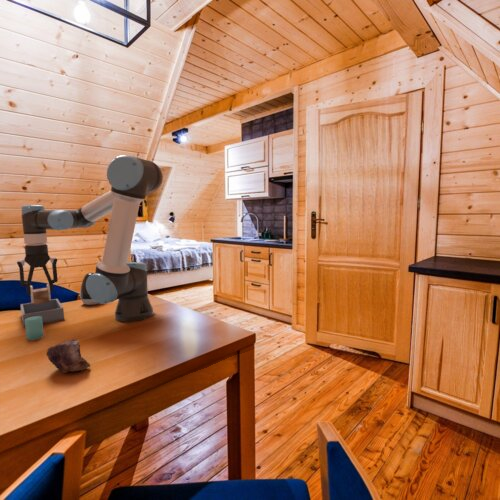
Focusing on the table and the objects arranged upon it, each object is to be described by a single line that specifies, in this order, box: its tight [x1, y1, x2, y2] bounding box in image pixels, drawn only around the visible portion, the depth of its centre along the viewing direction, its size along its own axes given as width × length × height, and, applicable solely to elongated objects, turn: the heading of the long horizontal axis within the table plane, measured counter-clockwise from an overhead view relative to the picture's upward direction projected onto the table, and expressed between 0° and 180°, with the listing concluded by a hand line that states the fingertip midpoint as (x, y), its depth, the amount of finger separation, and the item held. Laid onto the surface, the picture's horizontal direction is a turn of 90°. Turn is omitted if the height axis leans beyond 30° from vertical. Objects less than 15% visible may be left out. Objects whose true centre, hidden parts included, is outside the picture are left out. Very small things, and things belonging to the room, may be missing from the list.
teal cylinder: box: [24, 316, 45, 341], centre depth 110 cm, size 5×5×7 cm
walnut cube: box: [33, 287, 49, 304], centre depth 127 cm, size 5×5×5 cm
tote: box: [19, 298, 65, 328], centre depth 131 cm, size 18×14×5 cm
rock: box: [46, 339, 91, 374], centre depth 88 cm, size 12×9×10 cm
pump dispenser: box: [79, 272, 99, 306], centre depth 150 cm, size 10×10×15 cm
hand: (41, 300), depth 127 cm, fingers closed on walnut cube, 5 cm apart
